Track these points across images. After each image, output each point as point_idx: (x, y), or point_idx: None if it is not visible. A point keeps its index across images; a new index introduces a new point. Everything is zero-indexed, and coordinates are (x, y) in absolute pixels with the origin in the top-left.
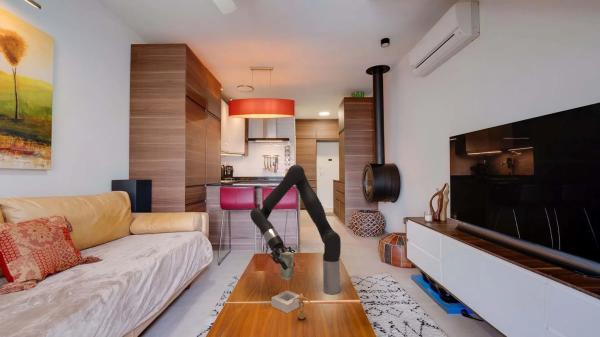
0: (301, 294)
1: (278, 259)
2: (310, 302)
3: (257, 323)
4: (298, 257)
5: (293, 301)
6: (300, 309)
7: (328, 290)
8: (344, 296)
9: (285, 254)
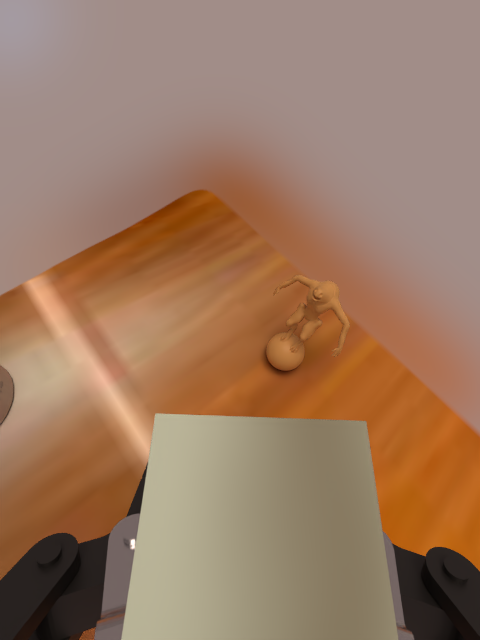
0: (323, 288)
1: (473, 591)
2: (278, 286)
3: (455, 485)
4: None
5: (343, 337)
6: (298, 340)
7: (1, 390)
8: (10, 324)
9: (352, 505)
